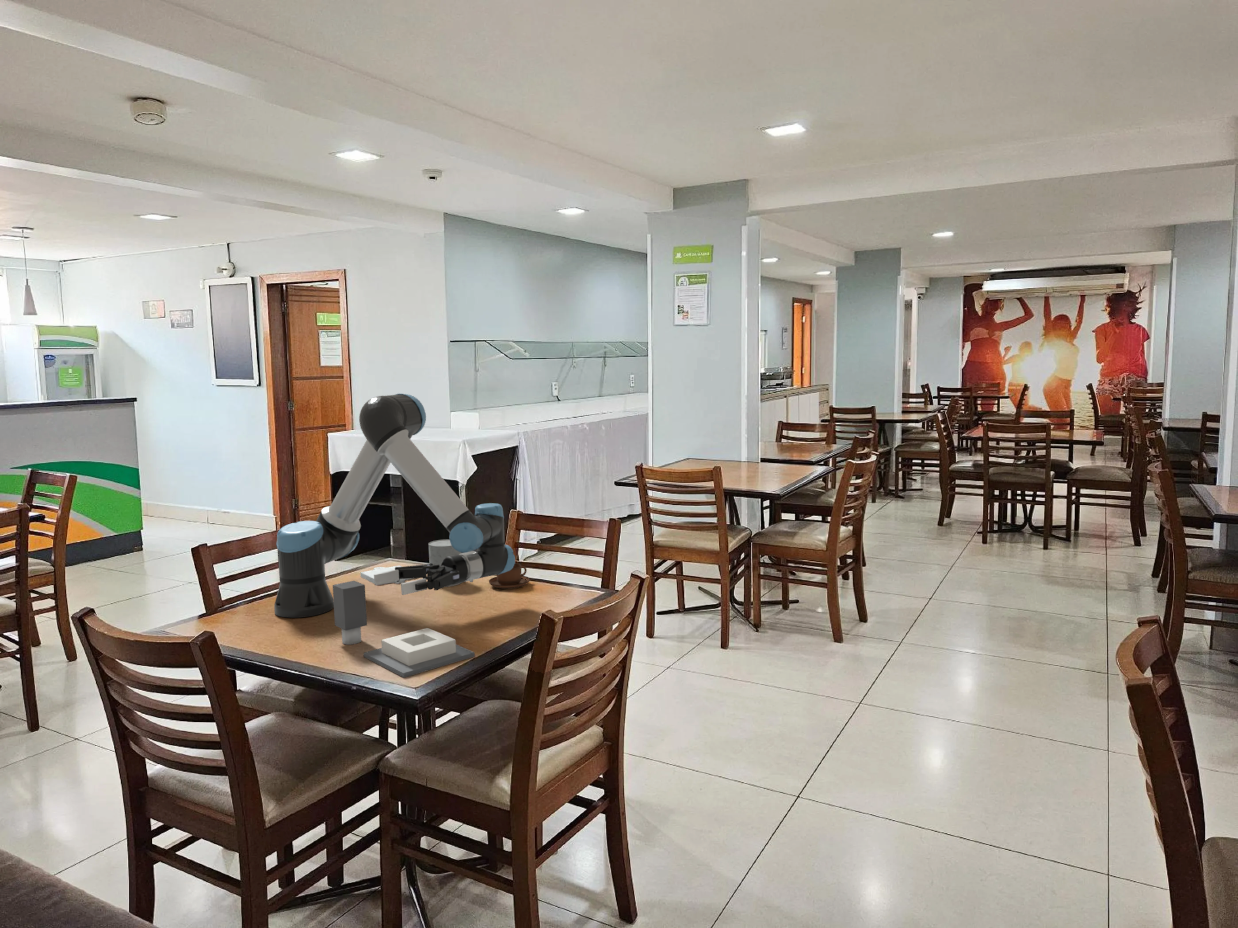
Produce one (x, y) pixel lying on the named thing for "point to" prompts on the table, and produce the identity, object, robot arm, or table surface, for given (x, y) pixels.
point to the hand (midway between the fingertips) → (387, 584)
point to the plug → (350, 610)
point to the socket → (418, 652)
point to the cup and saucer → (510, 578)
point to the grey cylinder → (441, 552)
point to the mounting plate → (370, 574)
